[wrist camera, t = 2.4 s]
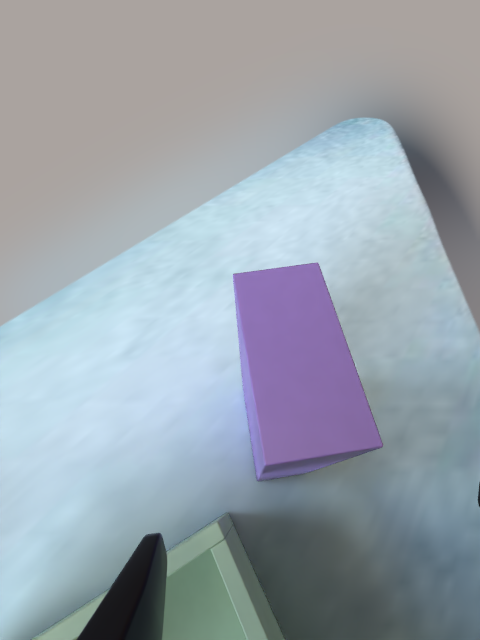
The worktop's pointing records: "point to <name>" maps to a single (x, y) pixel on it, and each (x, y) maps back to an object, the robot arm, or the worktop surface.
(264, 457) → the purple rectangular block
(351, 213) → the worktop surface
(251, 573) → the green square tray
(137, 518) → the worktop surface
